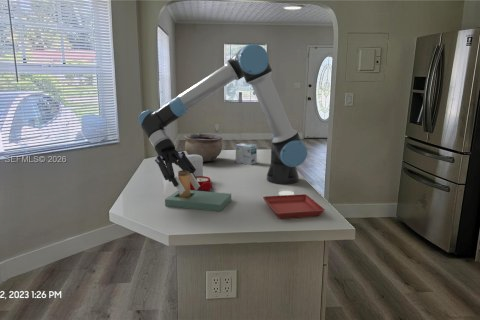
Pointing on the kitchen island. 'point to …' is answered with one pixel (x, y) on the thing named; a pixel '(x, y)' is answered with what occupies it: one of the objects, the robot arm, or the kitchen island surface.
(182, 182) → the plug
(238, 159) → the light bulb box
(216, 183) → the kitchen island surface
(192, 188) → the alarm clock
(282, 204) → the plant saucer
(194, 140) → the ceramic bowl
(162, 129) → the robot arm
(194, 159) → the photo printer
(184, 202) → the socket board
